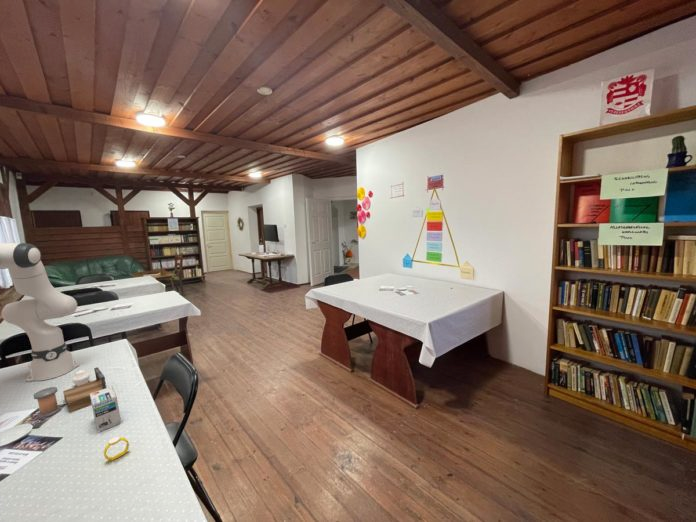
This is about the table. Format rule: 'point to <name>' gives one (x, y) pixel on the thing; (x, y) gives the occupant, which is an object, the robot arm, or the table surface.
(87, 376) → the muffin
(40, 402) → the cord spool
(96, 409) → the light bulb box
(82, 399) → the shelf stand
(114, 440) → the watch
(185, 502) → the table surface
